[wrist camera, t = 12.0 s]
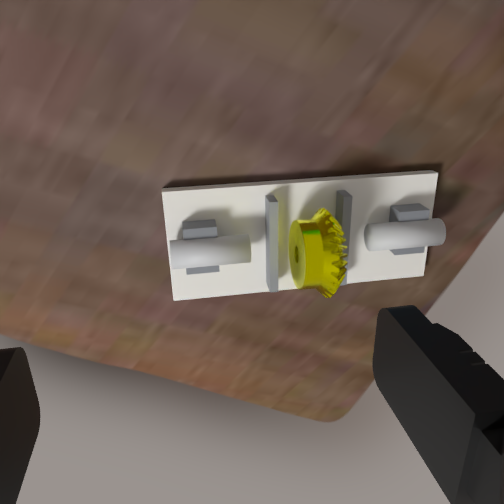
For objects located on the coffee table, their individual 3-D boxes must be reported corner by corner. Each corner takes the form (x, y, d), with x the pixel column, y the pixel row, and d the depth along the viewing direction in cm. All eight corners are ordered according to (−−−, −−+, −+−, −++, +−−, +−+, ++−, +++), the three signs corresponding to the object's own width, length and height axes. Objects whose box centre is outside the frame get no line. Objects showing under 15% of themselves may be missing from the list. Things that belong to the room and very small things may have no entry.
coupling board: (173, 294, 46) (173, 318, 42) (162, 188, 42) (161, 203, 38) (418, 270, 50) (439, 290, 46) (431, 170, 45) (457, 182, 41)
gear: (287, 197, 43) (311, 228, 36) (326, 195, 43) (357, 225, 36) (285, 274, 46) (306, 317, 39) (321, 272, 47) (348, 313, 40)
